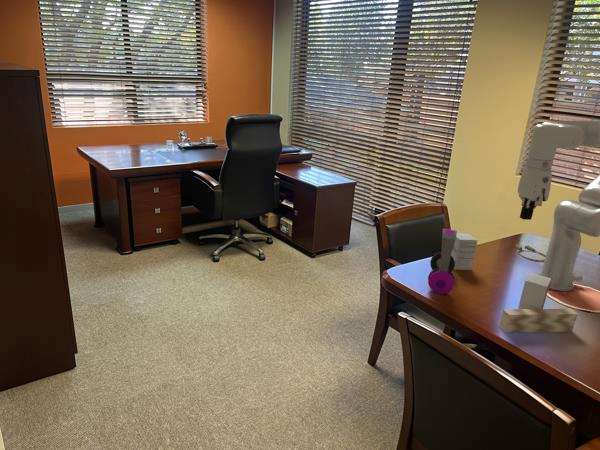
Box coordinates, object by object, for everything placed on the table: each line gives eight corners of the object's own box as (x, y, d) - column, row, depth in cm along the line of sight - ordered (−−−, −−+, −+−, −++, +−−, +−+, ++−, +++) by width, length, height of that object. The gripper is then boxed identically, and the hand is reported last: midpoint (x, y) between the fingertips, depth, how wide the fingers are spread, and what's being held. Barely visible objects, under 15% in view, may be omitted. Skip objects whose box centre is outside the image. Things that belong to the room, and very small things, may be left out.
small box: (537, 325, 136) (547, 287, 132) (515, 317, 139) (524, 280, 135) (541, 314, 142) (552, 278, 138) (520, 307, 146) (529, 271, 141)
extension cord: (544, 252, 197) (546, 247, 196) (548, 264, 183) (549, 260, 182) (514, 246, 201) (515, 242, 200) (515, 258, 187) (516, 254, 186)
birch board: (565, 325, 137) (570, 308, 134) (572, 331, 134) (577, 314, 132) (498, 326, 134) (503, 309, 132) (504, 332, 131) (508, 314, 129)
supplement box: (446, 261, 178) (451, 232, 174) (463, 262, 179) (469, 232, 174) (453, 269, 171) (459, 239, 167) (471, 270, 172) (478, 239, 167)
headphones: (452, 298, 149) (463, 242, 142) (425, 292, 152) (435, 238, 145) (452, 273, 168) (462, 223, 161) (428, 269, 170) (437, 219, 164)
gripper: (565, 169, 135) (550, 226, 141) (535, 159, 148) (522, 212, 155) (542, 168, 134) (528, 226, 140) (514, 158, 147) (502, 211, 154)
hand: (525, 218), depth 147 cm, fingers closed
